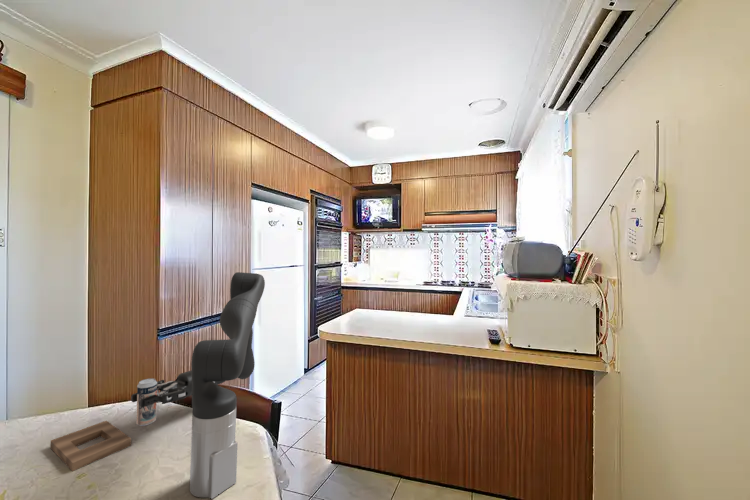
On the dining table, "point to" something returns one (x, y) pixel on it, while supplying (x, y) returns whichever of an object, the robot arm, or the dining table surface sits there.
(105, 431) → the frame
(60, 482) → the dining table surface
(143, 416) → the beer can
